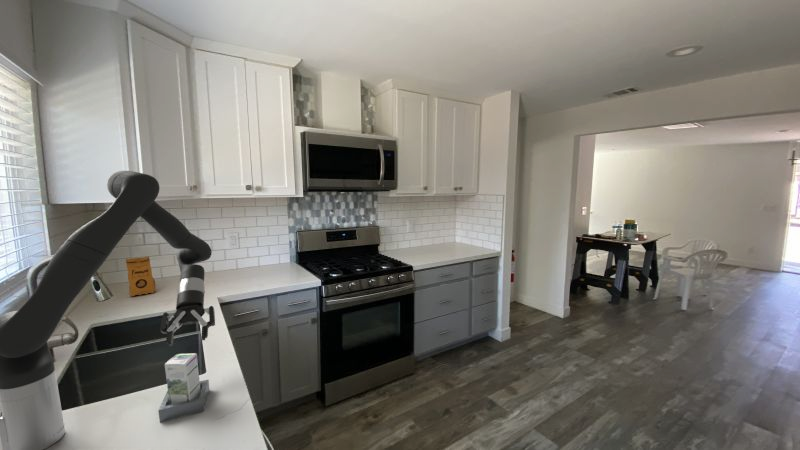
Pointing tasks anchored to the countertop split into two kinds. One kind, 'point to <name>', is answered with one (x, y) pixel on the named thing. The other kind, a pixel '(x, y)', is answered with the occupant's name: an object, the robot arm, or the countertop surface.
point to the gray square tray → (184, 405)
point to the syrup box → (182, 378)
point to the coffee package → (140, 276)
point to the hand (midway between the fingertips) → (187, 342)
